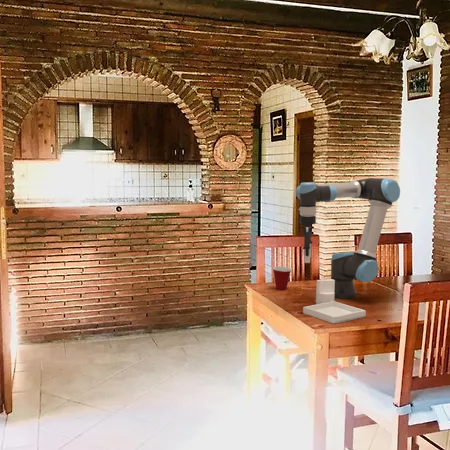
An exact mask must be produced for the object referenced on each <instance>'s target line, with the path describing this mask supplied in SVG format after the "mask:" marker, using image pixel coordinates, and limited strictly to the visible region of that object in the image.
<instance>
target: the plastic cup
mask: <svg viewBox="0 0 450 450" xmlns="http://www.w3.org/2000/svg"><path fill="white" fill-rule="evenodd" d="M272 270H273V277H274V284H275V288H276V290H277V289H278V291H286V290H287V287H288V283H289V279H290V274H291V272H292V271H293V269H292V268H290V267H286V266H273V267H272ZM285 289H286V290H285Z"/></svg>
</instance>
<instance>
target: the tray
mask: <svg viewBox="0 0 450 450" xmlns="http://www.w3.org/2000/svg"><path fill="white" fill-rule="evenodd" d="M302 310H303V311H302V313H303V314H305V315H307V316H311V317H313V318H316V319H319V320H322V321H325V322H328V323H331V324H334V325H335V324H340V323H344V322H349V321H354V320H357V319H358V318H359V319H362V318H366V314H367V311H366V309H362V308H358V307H355V306H352V305H348V304H345V303H342V302H338V301H336V300H334V301H332V302H327V303H321V304H316V303H315V304H312V305H307V306H303V309H302Z"/></svg>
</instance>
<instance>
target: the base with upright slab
mask: <svg viewBox="0 0 450 450" xmlns="http://www.w3.org/2000/svg"><path fill="white" fill-rule="evenodd" d="M334 289H335V280H333V279H331V278H329V279H327V278H326V279H316V290H315V291H316V292H315V305H316V304H321V303H327V302H332V301H335V297H334V296H335V292H334Z"/></svg>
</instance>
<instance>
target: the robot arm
mask: <svg viewBox="0 0 450 450" xmlns="http://www.w3.org/2000/svg"><path fill="white" fill-rule="evenodd" d="M295 195H296V196H295V197H297V199H299V208H298V211H299V215H300V216H299V224H300V225H304V227H303V229H302V231H303V237H304V240H303V241H304V244H303V247H302V250H303V263H304V264H311V258H312V244H313V241H312V232H313V227H312V225H314V224H316V223H317V217H316V214H317V203H320V202H321V203H325V202H328V203H330V202H333V201H335V200H336V199H339V198H342V199H343V198H352V199H360V200H361V199H362V200H368V203H369V209H368V212H367V217H366V219H365V222H364V223H365V224H364V226H363V231H362V234H361V237H360V241H359V244H358V249H356V250H355V251H353V252H352V251H347V252H345V251H344V252H343V251H342V252H336V253H335V252H334V253H332V254H331V260H330V279H333V280H335V289H334V292H335V296H334V299H335V298H336V299H354V298H356V296H357V290H356V288H355V282H354V280H355V281H359V282H364V283H369V282H372V281H373V280H374V279H375V278H376V277H377V276H378V274H379V264H378V262H377V256H376V252H377V247H378V245H379V240H380V237H381V234H382V230H383V226H384V223H385V219H386V216H387V212H388V210H389V209H390V208H392V206H393V203H394V202H395V203H396V202H397V200H399V198H400V195H401V188H400V186H399V183H398V182H397V181H396V180H395V179H393V178H387V177H383V178H382V177H379V178H378V177H369V178H363V179H362V178H361V179H357V180H356V179H353V180H351V181H349V182H338V183H337V182H336V183H319V184H317V183H316V182H312V181H311V182H301V183H300V184H299V185H298V186H297V187H296V190H295Z"/></svg>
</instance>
